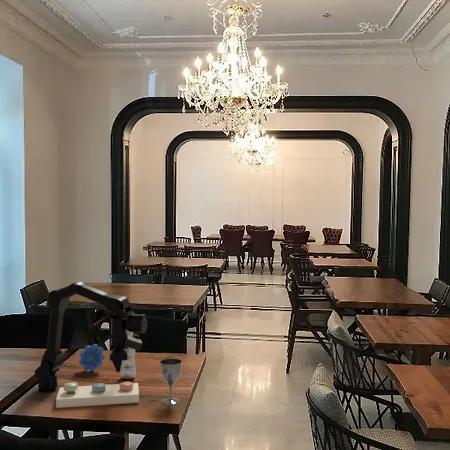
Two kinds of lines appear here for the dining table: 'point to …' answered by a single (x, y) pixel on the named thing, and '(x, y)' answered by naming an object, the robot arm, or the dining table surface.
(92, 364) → the grapes
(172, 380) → the wine glass
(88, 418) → the dining table surface
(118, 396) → the console
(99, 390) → the button blue
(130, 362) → the plastic bottle
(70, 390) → the button sage
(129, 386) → the button terracotta
